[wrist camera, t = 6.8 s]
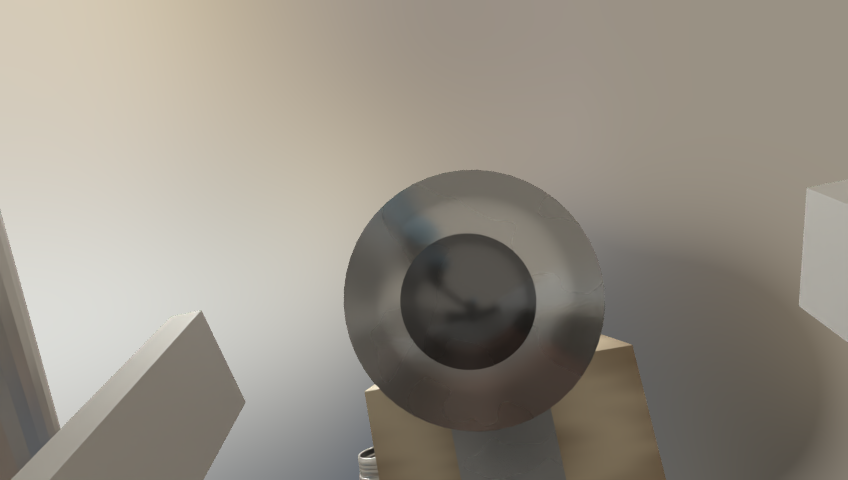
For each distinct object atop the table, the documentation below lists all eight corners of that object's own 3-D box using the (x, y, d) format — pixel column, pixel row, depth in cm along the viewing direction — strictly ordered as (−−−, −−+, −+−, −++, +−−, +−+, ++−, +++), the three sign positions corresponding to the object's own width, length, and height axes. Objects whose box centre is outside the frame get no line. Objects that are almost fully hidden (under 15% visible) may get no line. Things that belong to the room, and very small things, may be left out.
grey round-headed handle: (470, 642, 18) (449, 1019, 9) (391, 230, 20) (305, 191, 10) (632, 626, 17) (792, 1017, 8) (537, 198, 19) (581, 128, 10)
